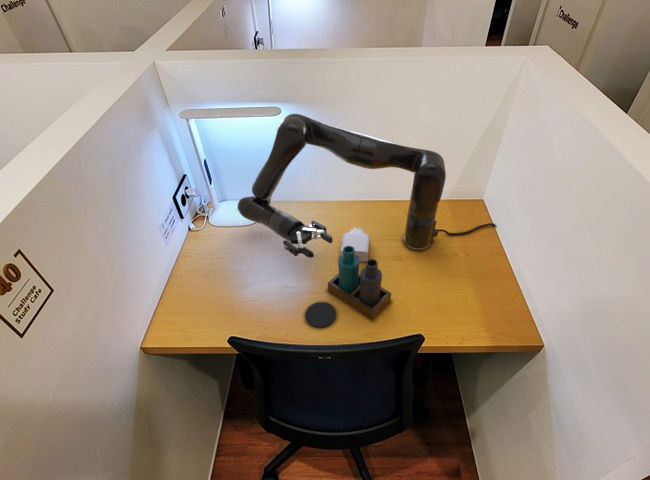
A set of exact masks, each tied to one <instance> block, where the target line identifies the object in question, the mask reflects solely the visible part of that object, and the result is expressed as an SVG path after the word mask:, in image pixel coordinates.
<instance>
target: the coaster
mask: <svg viewBox="0 0 650 480" xmlns="http://www.w3.org/2000/svg"><path fill="white" fill-rule="evenodd" d="M336 316H337V312H336V309H335V307H334V306H333V305H332V304H330V303H328V302H325V301H319V302H315V303H313V304H311V305H310V306H309V307H308V308H306V311H305V320H306V322H307V324H309V325H310V326H312V327H313V328H317V329H323V328H327V327H329V326H331V325H332V324H333V323H334V322H335V320H336Z"/></svg>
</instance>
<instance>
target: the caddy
mask: <svg viewBox="0 0 650 480" xmlns="http://www.w3.org/2000/svg"><path fill="white" fill-rule="evenodd" d="M327 291H328V292H329V293H330V294H332V295H333V296H335V297H336V298H338V299H339V300H341V301H342V302H344V303H345V304H347V305H348V306H350V307H351V308H353V309H354V310H356V311H357V312H359V313H360V314H362V315H364V316H365V317H366V318H368V319H370V320H371V321H373V320H374V319H375V318H376V317H377V315H379V314H380V312H381V311H383V309H385V307H387V305H388V304H389V303H390V302H391V297H392V292H390V291H388V290H387V289H385V288H384V287H382V286H381V290H380V300H379V302H378V303H377V304H376V305H375V306H374V307H373V308H371V307H369V306H368V305H366V304H365V303H363V302H362V301H360V300H359V295H360V273H359V283H358V287H357V288H356V289H355V290H354V291H353V292H352V293H351V294H349V293H348V292H346V291H345V290H343V289H342V288H340V287H339V272H338V273H337V274H336V275H335V276H334V277H333V278H331V279H330V280H329V281H328V282H327Z"/></svg>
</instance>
